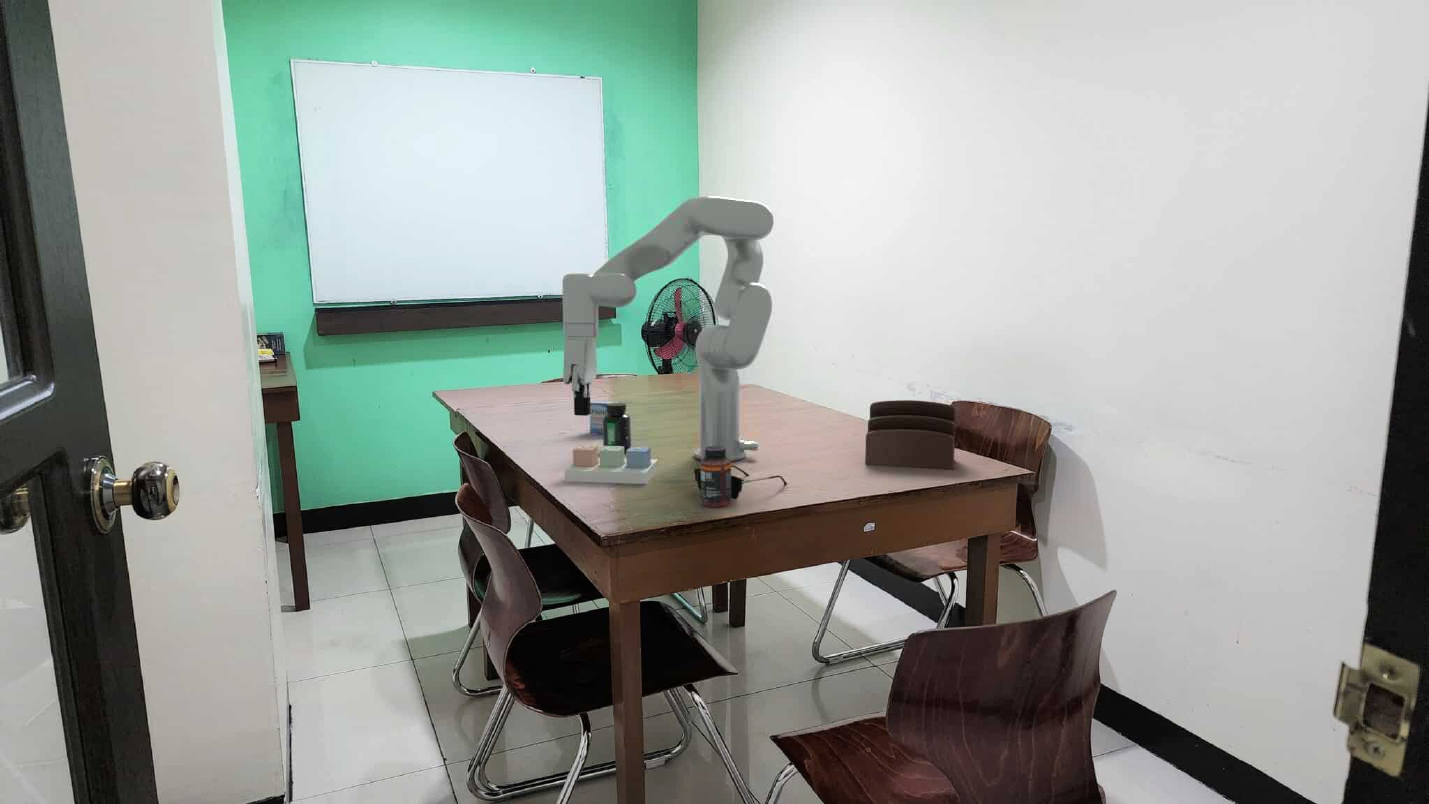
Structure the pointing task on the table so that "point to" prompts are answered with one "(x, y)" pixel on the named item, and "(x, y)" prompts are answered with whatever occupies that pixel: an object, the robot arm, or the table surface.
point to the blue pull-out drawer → (638, 457)
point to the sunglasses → (733, 481)
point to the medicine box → (598, 415)
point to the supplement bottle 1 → (617, 426)
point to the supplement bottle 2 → (715, 478)
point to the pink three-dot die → (585, 456)
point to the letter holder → (911, 434)
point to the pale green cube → (612, 456)
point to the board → (611, 474)
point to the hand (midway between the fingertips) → (582, 414)
